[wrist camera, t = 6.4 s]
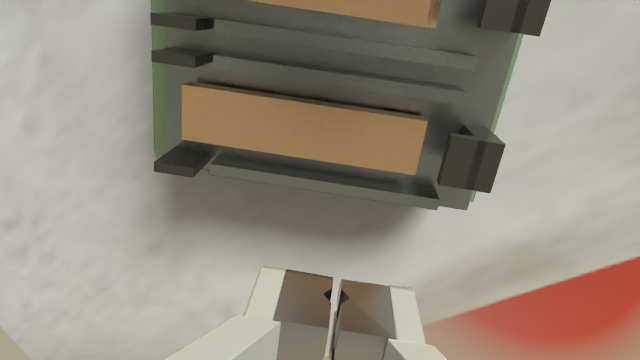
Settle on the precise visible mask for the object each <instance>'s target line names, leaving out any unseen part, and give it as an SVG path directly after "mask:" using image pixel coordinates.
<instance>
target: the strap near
mask: <svg viewBox="0 0 640 360" xmlns="http://www.w3.org/2000/svg"><path fill="white" fill-rule="evenodd" d="M248 1H255V2H261V3H268V4H275V5H281V6H288V7H295V8H301V9H308V10H314V11H321V12H328V13H334V14H341V15H348V16H354V17H361V18H368V19H374V20H381V21H387V22H394V23H401V24H407V25H414V26H421V27H428V28H436V24H437V19H438V15H439V10H440V6H441V1H442V0H248Z"/></svg>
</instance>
